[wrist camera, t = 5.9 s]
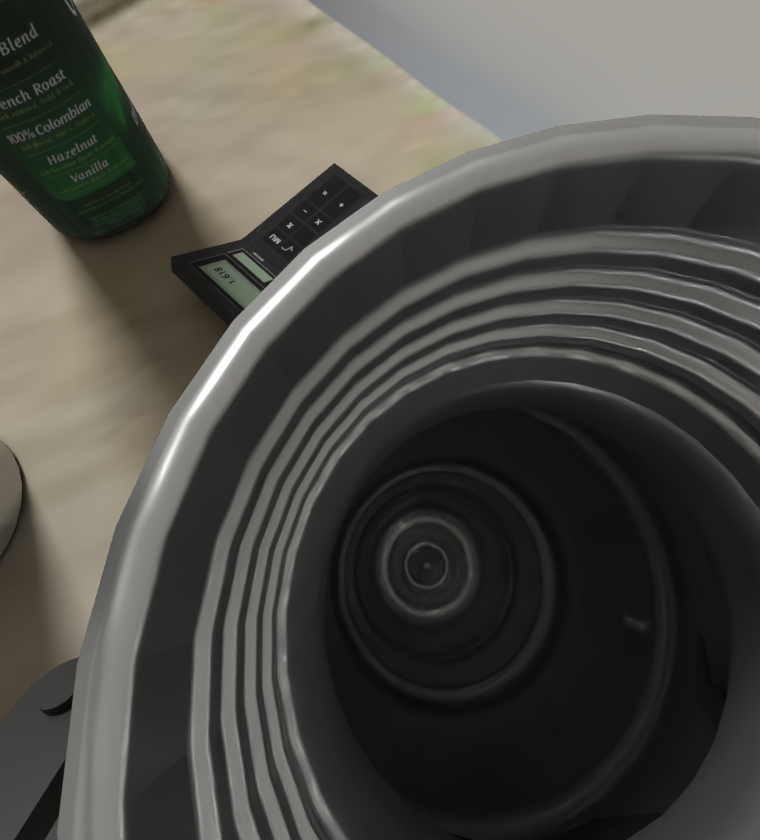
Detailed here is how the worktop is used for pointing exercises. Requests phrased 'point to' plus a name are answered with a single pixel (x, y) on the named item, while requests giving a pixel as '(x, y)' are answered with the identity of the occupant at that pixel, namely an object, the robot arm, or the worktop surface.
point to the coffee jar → (71, 125)
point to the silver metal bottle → (456, 520)
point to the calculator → (270, 244)
